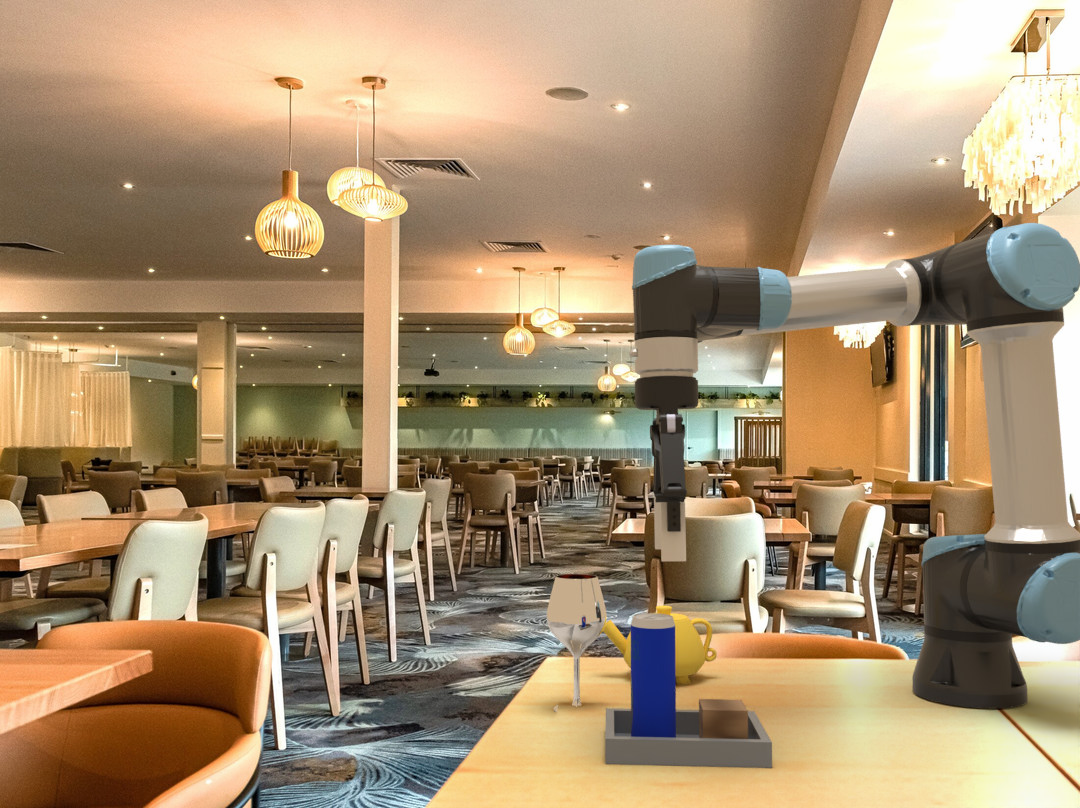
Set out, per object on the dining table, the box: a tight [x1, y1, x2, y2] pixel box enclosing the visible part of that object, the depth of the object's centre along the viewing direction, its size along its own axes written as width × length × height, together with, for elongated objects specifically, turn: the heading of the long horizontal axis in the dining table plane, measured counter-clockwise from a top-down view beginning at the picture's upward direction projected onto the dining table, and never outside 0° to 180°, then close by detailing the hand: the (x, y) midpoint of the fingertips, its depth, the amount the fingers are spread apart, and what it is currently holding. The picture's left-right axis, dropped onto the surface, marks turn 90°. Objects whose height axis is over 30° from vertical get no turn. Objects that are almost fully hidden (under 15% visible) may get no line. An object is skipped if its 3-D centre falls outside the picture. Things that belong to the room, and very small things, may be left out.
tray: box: [604, 707, 773, 769], centre depth 112 cm, size 18×13×4 cm
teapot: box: [602, 605, 717, 685], centre depth 152 cm, size 14×14×11 cm
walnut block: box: [698, 698, 749, 739], centre depth 112 cm, size 5×5×5 cm
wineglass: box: [546, 573, 608, 713], centre depth 133 cm, size 8×8×18 cm
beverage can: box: [630, 612, 677, 738], centre depth 113 cm, size 5×5×15 cm
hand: (669, 555), depth 116 cm, fingers open, 13 cm apart
